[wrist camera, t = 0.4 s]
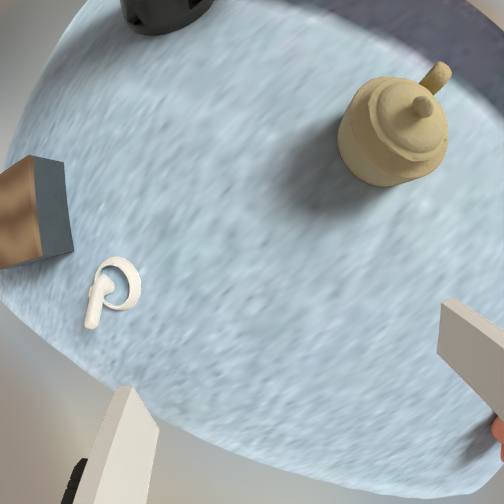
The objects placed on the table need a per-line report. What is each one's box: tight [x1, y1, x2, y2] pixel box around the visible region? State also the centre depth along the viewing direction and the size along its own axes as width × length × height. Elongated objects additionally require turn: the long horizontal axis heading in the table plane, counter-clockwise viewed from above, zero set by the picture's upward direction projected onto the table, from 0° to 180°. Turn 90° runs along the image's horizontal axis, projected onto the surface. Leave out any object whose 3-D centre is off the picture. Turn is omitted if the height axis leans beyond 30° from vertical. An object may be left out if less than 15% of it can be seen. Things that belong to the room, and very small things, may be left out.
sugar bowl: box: [337, 61, 452, 187], centre depth 25 cm, size 15×11×15 cm
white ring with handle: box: [84, 257, 141, 329], centre depth 35 cm, size 8×12×7 cm
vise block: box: [0, 155, 74, 270], centre depth 35 cm, size 14×14×8 cm
